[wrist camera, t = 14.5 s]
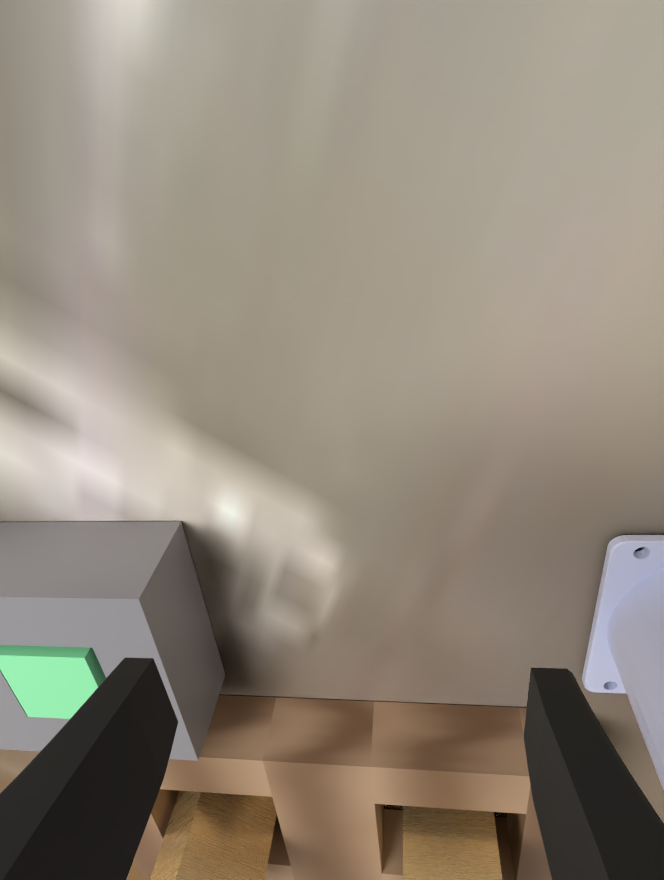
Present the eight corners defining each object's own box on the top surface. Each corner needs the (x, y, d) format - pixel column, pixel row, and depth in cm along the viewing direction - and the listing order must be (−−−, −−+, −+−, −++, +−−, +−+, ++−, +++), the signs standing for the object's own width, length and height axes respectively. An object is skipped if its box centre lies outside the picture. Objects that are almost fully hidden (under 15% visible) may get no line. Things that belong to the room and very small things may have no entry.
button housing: (181, 521, 21) (138, 599, 18) (225, 674, 26) (198, 760, 22) (-30, 522, 23) (-106, 595, 19) (47, 668, 27) (-4, 748, 24)
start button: (121, 594, 22) (84, 658, 20) (145, 655, 24) (113, 721, 21) (38, 593, 23) (-9, 654, 20) (67, 653, 24) (28, 716, 22)
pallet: (575, 709, 24) (595, 780, 22) (548, 847, 30) (561, 915, 28) (102, 690, 28) (71, 749, 25) (162, 818, 34) (141, 877, 31)
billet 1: (285, 766, 29) (254, 935, 23) (250, 796, 31) (213, 959, 25) (217, 735, 29) (168, 901, 23) (186, 768, 30) (133, 929, 25)
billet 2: (486, 757, 27) (510, 942, 21) (483, 802, 29) (504, 982, 23) (403, 752, 28) (402, 931, 22) (405, 797, 30) (405, 972, 24)
